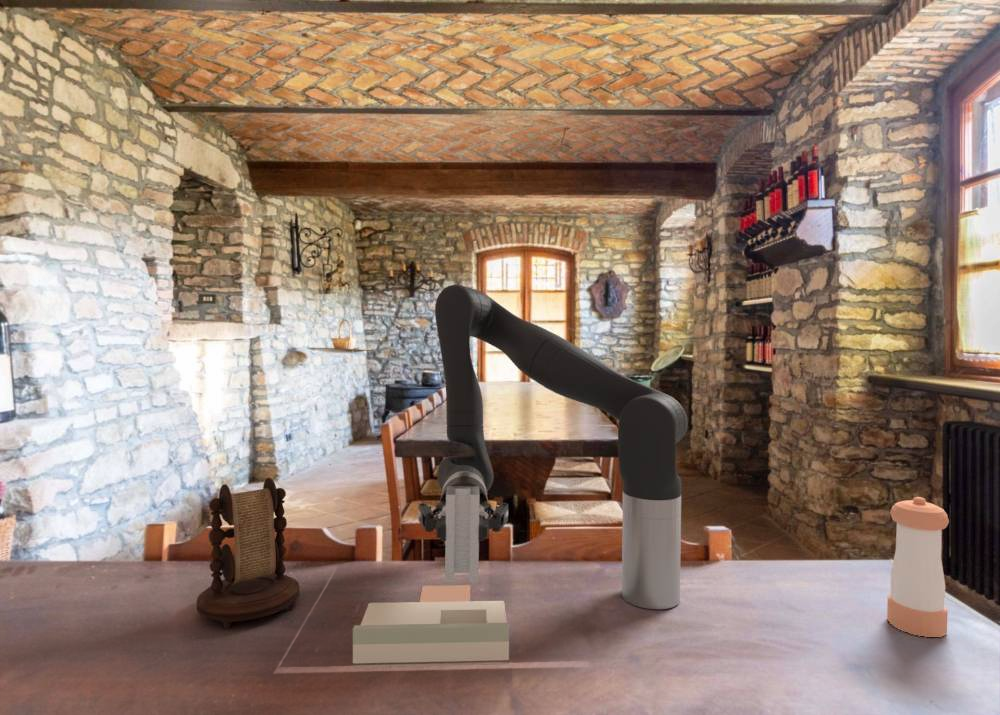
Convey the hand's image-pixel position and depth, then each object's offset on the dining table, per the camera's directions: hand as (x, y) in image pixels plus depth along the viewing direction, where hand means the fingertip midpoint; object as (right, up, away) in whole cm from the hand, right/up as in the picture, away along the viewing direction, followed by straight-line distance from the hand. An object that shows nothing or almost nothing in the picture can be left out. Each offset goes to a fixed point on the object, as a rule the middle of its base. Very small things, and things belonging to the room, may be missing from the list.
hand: (462, 533), depth 79 cm
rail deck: (-4, -16, +3) cm, 17 cm away
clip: (0, -7, +3) cm, 7 cm away
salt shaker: (+67, -16, +8) cm, 69 cm away
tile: (-4, -15, +16) cm, 23 cm away
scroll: (-34, -16, +13) cm, 40 cm away
